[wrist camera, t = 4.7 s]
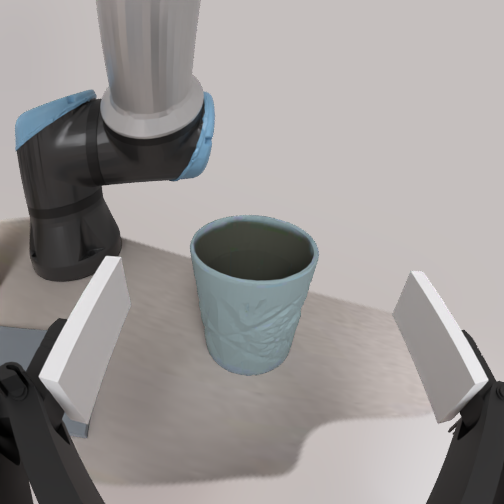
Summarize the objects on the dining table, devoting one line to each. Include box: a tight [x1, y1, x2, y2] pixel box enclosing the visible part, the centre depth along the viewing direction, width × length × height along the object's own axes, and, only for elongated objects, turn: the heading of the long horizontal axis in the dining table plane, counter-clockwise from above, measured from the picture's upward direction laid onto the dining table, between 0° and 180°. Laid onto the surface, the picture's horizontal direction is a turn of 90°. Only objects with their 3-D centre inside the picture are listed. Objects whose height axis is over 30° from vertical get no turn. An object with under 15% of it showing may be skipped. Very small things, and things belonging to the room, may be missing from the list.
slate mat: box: [0, 326, 89, 438], centre depth 23 cm, size 12×16×1 cm
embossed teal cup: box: [190, 215, 319, 376], centre depth 28 cm, size 10×10×12 cm
